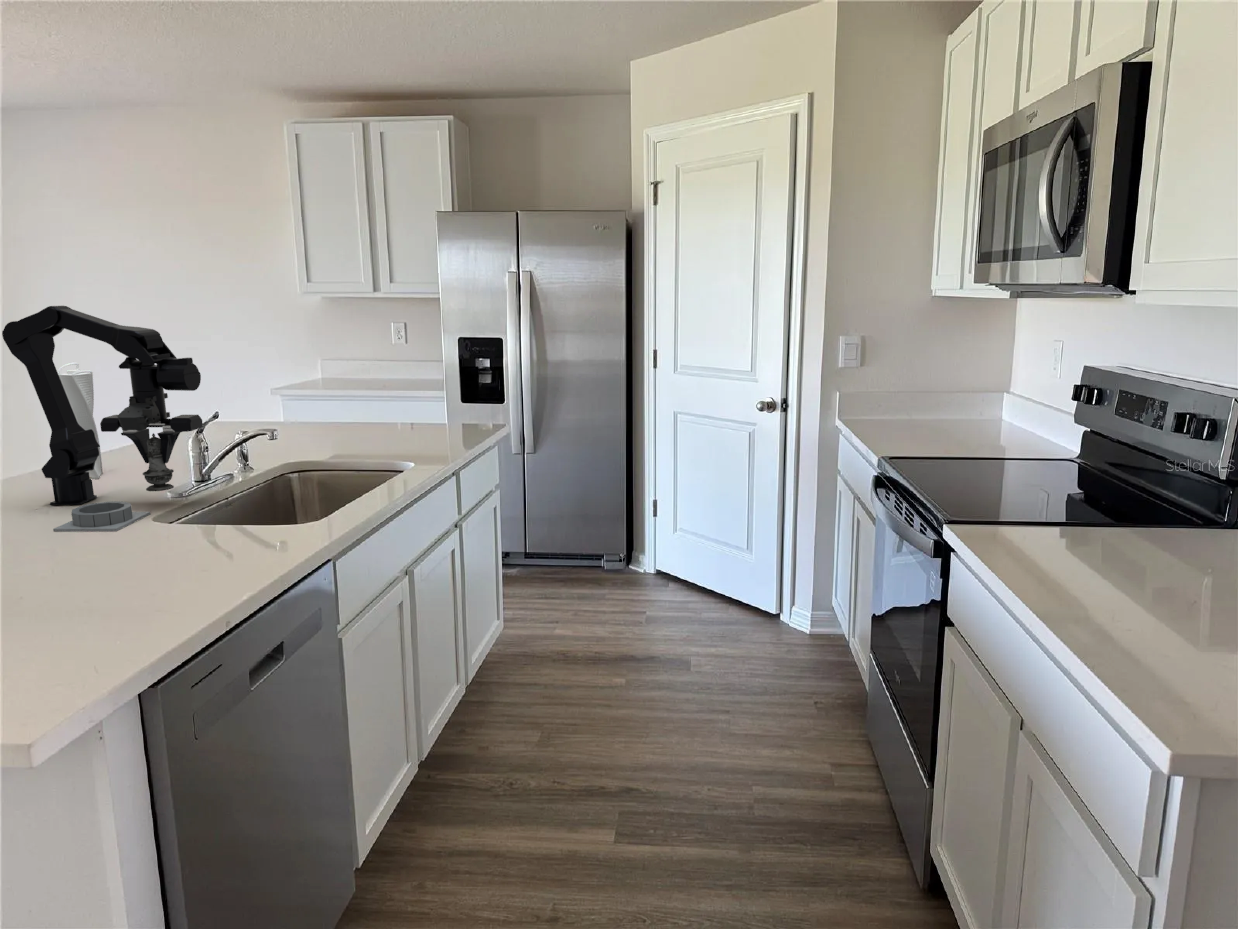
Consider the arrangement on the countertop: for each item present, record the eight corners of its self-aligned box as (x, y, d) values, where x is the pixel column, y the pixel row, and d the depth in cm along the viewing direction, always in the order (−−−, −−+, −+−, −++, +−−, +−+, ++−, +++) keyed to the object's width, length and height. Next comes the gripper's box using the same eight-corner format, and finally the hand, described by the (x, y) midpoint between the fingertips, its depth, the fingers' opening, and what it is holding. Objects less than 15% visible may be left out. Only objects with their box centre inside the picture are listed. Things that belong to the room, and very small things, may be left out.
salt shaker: (181, 485, 180) (175, 431, 177) (164, 492, 174) (157, 435, 172) (156, 484, 180) (149, 430, 178) (138, 491, 175) (130, 435, 172)
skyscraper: (70, 475, 205) (54, 362, 199) (108, 472, 209) (93, 361, 203) (64, 483, 198) (47, 365, 192) (104, 479, 201) (88, 364, 195)
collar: (53, 531, 158) (51, 516, 158) (92, 514, 170) (90, 500, 169) (116, 531, 158) (114, 516, 158) (150, 514, 170) (148, 500, 170)
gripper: (78, 395, 165) (89, 471, 168) (172, 395, 165) (181, 471, 168) (111, 388, 176) (121, 460, 179) (200, 388, 176) (207, 460, 179)
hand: (156, 463), depth 176 cm, fingers closed on salt shaker, 3 cm apart
